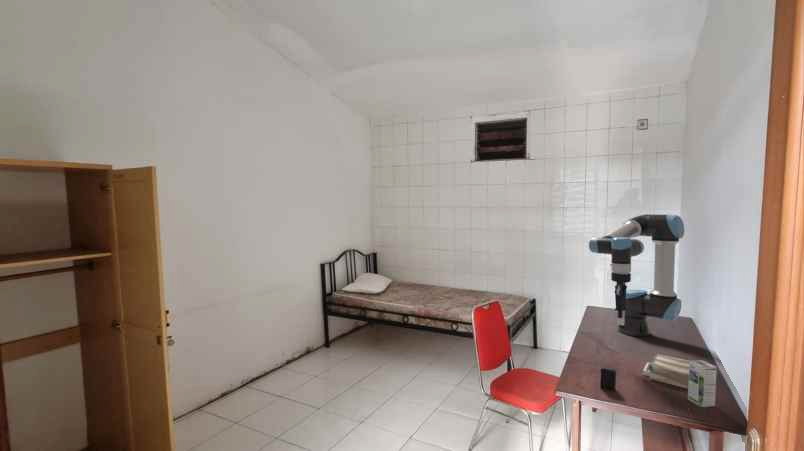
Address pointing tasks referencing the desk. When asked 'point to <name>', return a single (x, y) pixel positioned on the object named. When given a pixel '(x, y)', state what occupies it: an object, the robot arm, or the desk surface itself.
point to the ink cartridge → (608, 378)
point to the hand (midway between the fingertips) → (620, 324)
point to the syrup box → (702, 383)
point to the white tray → (647, 369)
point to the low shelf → (670, 370)
